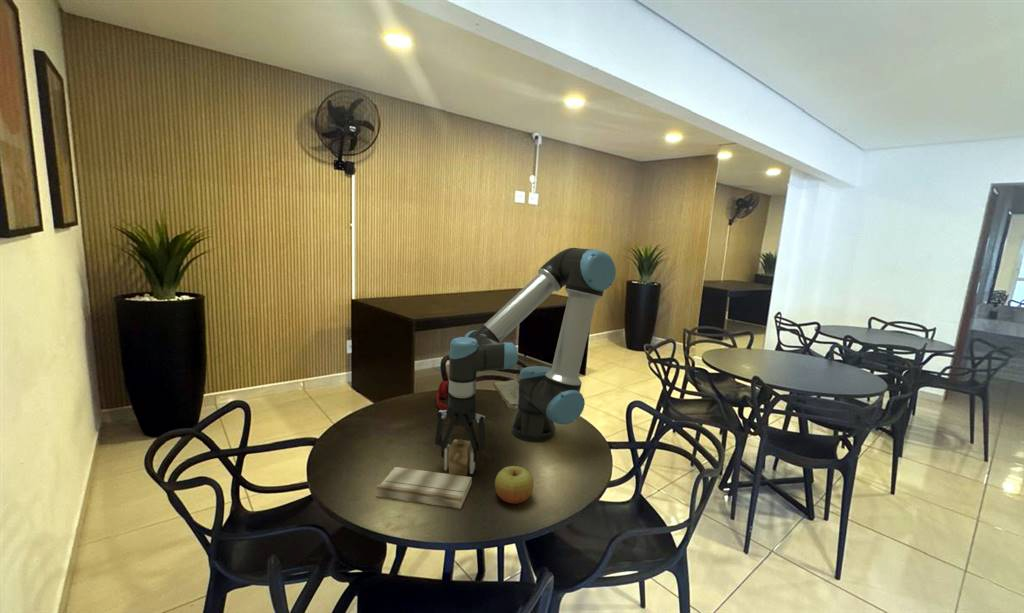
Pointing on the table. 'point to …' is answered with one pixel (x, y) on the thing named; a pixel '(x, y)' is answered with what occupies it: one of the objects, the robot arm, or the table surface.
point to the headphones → (442, 394)
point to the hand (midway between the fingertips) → (459, 469)
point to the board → (425, 487)
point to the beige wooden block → (459, 457)
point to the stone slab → (508, 392)
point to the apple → (514, 484)
